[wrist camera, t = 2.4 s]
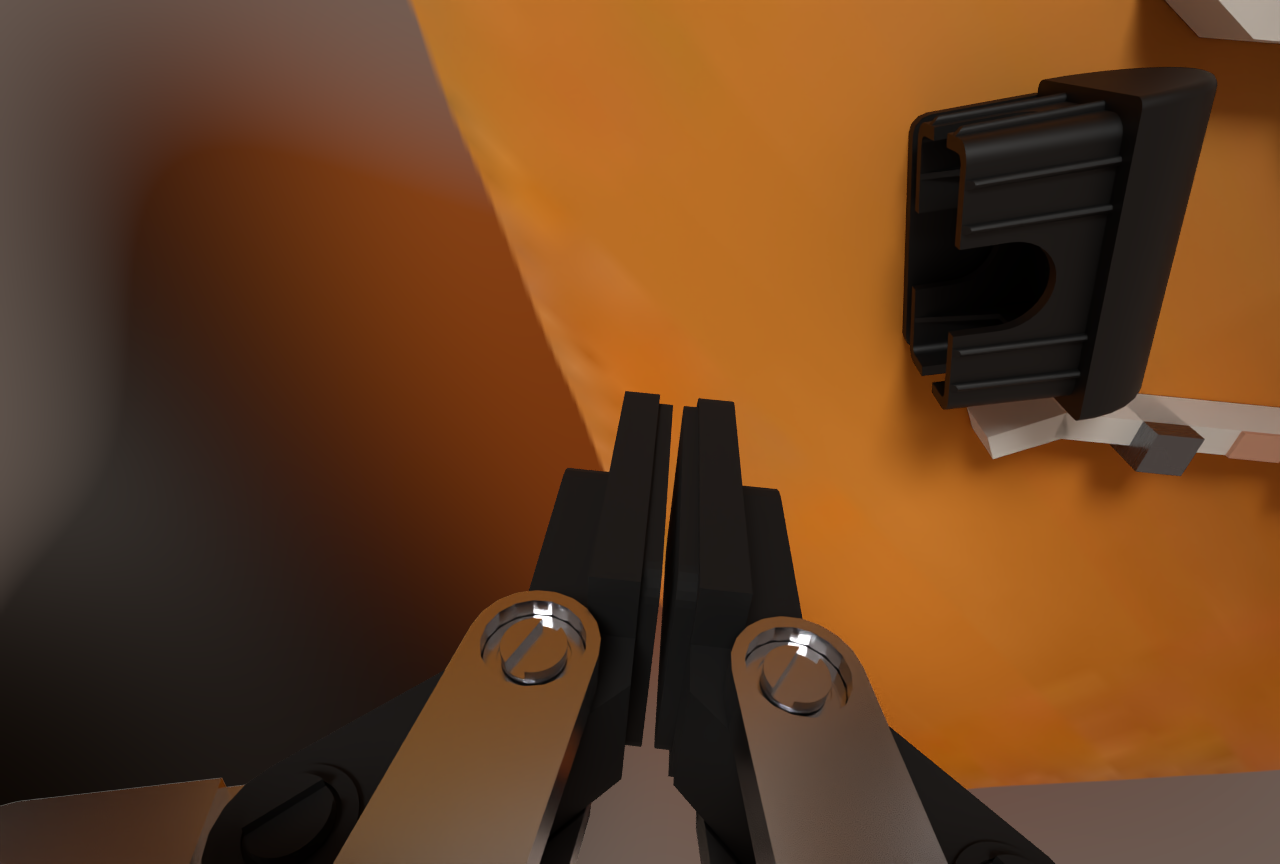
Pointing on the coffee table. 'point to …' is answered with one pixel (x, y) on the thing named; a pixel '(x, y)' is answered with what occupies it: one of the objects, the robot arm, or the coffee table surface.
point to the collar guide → (1155, 425)
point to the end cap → (1049, 235)
